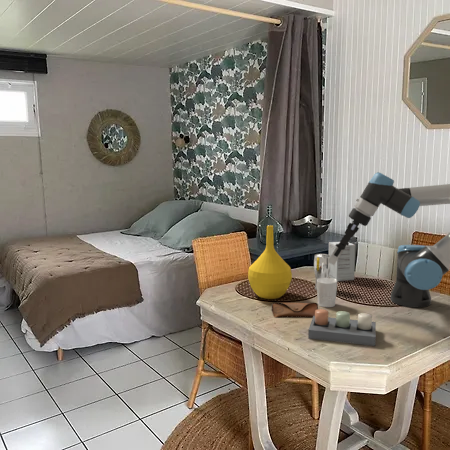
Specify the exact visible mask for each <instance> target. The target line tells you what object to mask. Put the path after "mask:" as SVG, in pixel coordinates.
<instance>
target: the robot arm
mask: <svg viewBox="0 0 450 450" xmlns="http://www.w3.org/2000/svg"><path fill="white" fill-rule="evenodd" d="M394 183H395V181H394V179H393V178H391V177H389V176H387V175H385V174H383V173H381V172H379V171H378V172H375V173H374V174H373V176H372V177H371V178H370V180H369V181H368V183H367V185H366V186H365V188H364V190H363V191H362V194H361V195H360V196H359V198H356V199H355V200H356V201H355V202H356V203H355V205H354V207H355V208H354V207H353V208H352V209H351V211H350V212H349V214H348V217H349V219H351V220H352V222H349V223H348V225H347V227H346V230H345V231H344V235H343V237H341V240H340V241H339V242H340V243H339V244H336V245H335V246H337V247H336V249H335V250H334V252H333V253H332V255H331V257H330V258H329V260H328V262H329V263H331V264H333V265H335V263H336V261H337V260H338V258H339V257H340V255H341V253H342V252H343V250H344V249H345V247H346V245H347V246H348V245H349V243H350V242H349V241H350V240H351V239H352V238H353V237H355V234H356V233H358V231H359V229H360V227H359V226H364V227H367V226H368V224H369V223H370V221H371V219H372V217H373V216H374V215H375V214H376V212H377V210H378V208H379V207H380V205H381V204H382V205H383V206H386V207H387V208H388V209H390V210H392V211H394V212H395V213H397V214H399V215H400V216H403V217H405V218H406V219H411V218H412V217H414V216H415V214H416V213H417V212H418V210H419V208H420V207H425V206H426V207H427V206H436V205H437V206H438V205H439V206H440V205H450V183H446V184H445V183H444V184H436V185H424V186H414V187H413V186H412V187H404V188H398V187H396V186H394ZM348 242H349V243H348ZM396 253H397V257H396V258H397V259H396V275H395V276H396V277H395V278H396V279H395V283H394V286H393V288H392V291H391V294H390V301H391V302H392V303H394V304H396V305H399V306H403V307H409V308H424V307H429V306H431V304H432V296H431V293H430V290H432V289H434V288H436V287H437V286H438V285H440V283H441V282H442V279H443V276H444V275H445V274H446V273H448V272H449V271H450V232H448V233H447V234H446V235H445V236H444V237H442V238H441V239H440V240H438V242H436V243H435V244H433V245H422V244H421V245H419V244H401V245H399V246H398V247H397V252H396Z"/></svg>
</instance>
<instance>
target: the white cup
mask: <svg viewBox="0 0 450 450" xmlns="http://www.w3.org/2000/svg"><path fill="white" fill-rule="evenodd" d="M337 287H338V281H337V280H336V279H333V278H330V277H328V278H319V279H317V290H316V294H317V296H316V297H317V304H318V307H319V306H320V307H322V308H332V307H333V308H334V307H335V306H336V298H337Z"/></svg>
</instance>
